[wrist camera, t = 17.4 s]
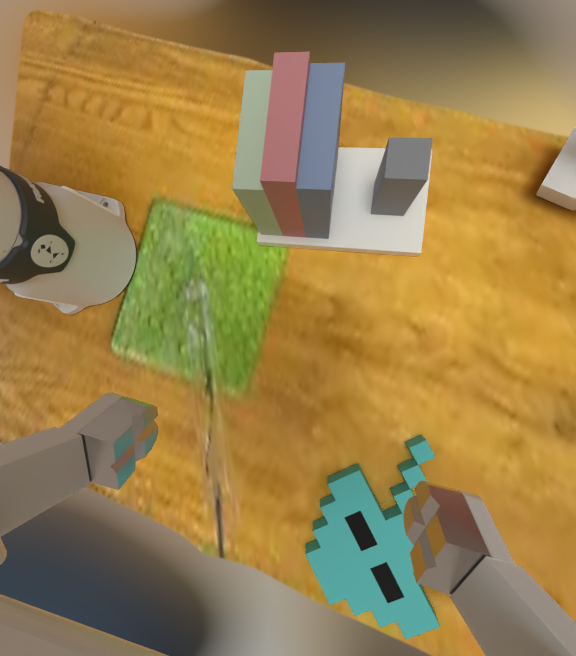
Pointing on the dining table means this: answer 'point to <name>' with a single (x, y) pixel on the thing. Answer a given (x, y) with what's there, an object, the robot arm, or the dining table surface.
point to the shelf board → (359, 213)
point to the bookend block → (401, 175)
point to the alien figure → (372, 548)
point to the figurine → (562, 177)
